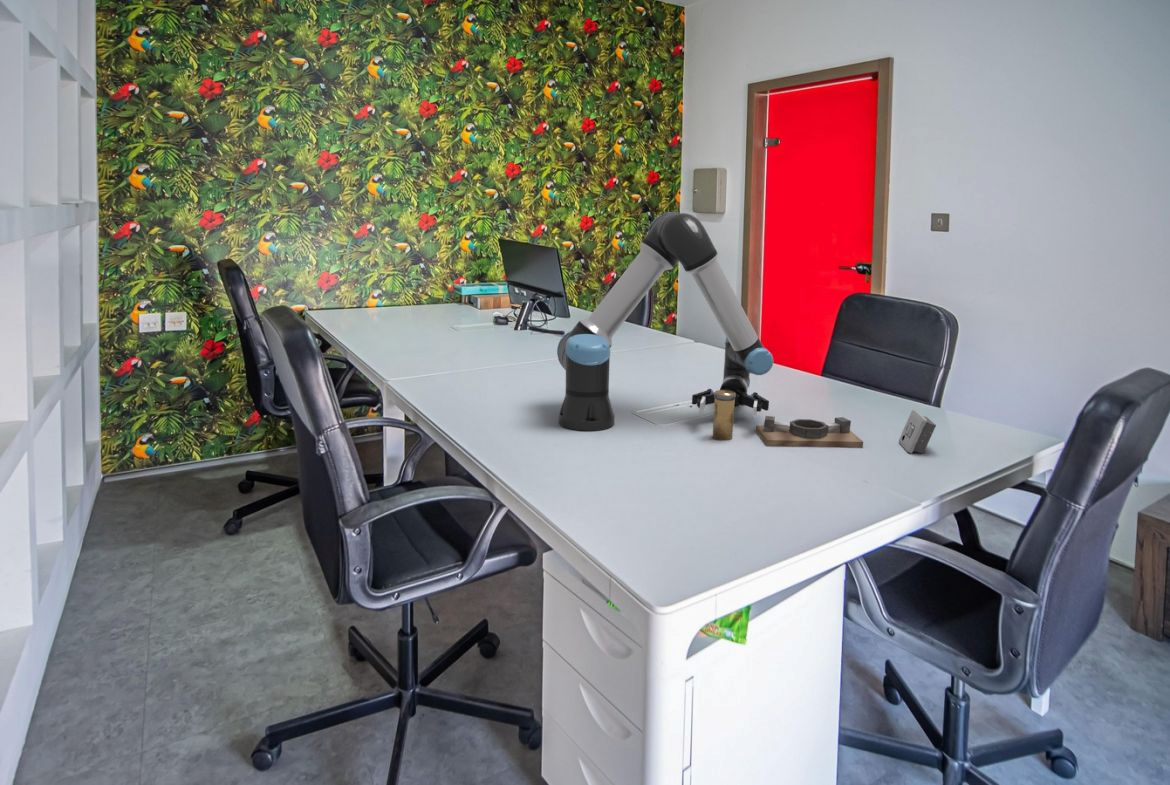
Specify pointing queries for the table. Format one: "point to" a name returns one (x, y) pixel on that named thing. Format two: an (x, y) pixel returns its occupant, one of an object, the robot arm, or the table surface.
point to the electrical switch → (916, 433)
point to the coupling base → (808, 433)
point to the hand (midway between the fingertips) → (727, 409)
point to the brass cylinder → (723, 414)
